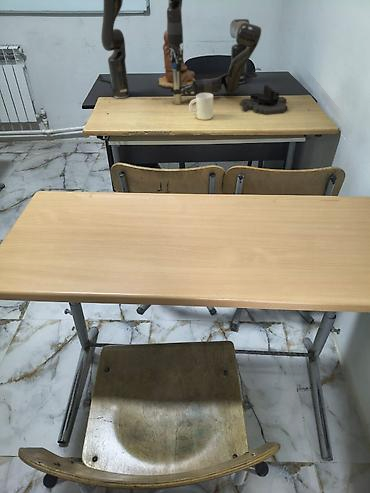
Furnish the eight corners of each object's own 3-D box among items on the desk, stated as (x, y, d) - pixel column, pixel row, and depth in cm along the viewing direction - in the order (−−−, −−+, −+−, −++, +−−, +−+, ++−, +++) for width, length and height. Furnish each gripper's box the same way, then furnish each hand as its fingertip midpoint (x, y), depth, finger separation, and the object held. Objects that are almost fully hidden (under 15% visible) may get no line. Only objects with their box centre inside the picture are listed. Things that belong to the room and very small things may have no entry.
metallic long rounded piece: (174, 104, 193) (173, 65, 180) (173, 102, 196) (171, 63, 184) (182, 103, 194) (181, 65, 181) (180, 101, 197) (179, 63, 184)
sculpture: (197, 88, 213) (196, 30, 194) (156, 89, 214) (152, 31, 194) (196, 75, 234) (196, 22, 215) (159, 76, 235) (156, 23, 215)
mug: (190, 121, 174) (189, 99, 167) (187, 115, 180) (187, 93, 173) (214, 119, 175) (214, 97, 168) (211, 113, 181) (211, 92, 174)
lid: (172, 69, 181) (172, 65, 180) (170, 67, 185) (170, 62, 184) (182, 68, 182) (182, 64, 181) (180, 66, 186) (179, 61, 185)
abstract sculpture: (249, 96, 171) (238, 84, 186) (248, 115, 177) (236, 102, 192) (299, 92, 174) (283, 80, 189) (296, 111, 180) (281, 98, 195)
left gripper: (162, 30, 177) (164, 67, 188) (173, 35, 167) (174, 74, 178) (176, 29, 179) (178, 65, 190) (187, 34, 169) (188, 72, 180)
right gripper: (197, 76, 197) (168, 80, 193) (207, 83, 186) (176, 87, 182) (197, 90, 202) (168, 94, 198) (207, 98, 191) (176, 102, 187)
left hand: (176, 69), depth 184 cm, fingers open, 6 cm apart
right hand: (172, 91), depth 190 cm, fingers closed on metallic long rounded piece, 4 cm apart
